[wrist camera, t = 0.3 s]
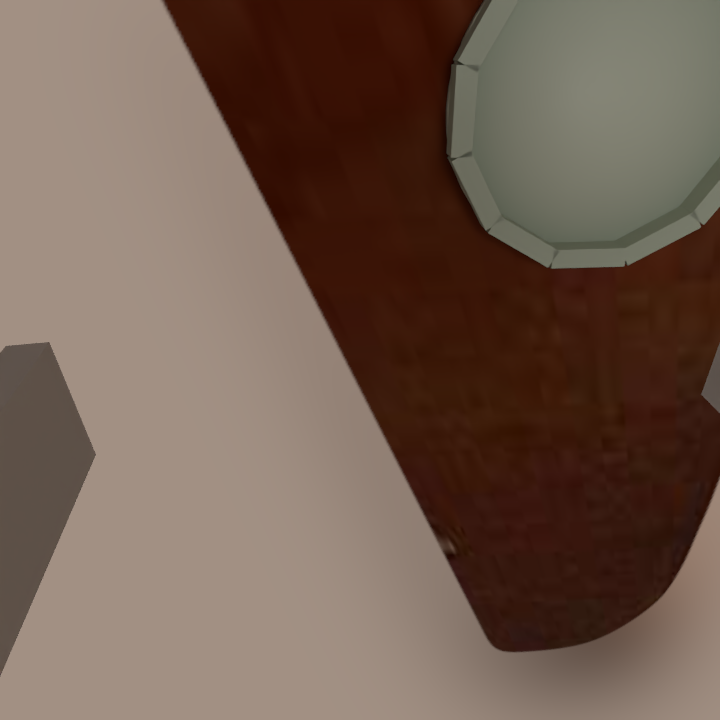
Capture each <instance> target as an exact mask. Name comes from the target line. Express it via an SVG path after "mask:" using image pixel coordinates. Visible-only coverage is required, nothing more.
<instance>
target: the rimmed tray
mask: <svg viewBox="0 0 720 720" xmlns="http://www.w3.org/2000/svg"><path fill="white" fill-rule="evenodd" d="M453 60H454V64H451V77H450V81H449V86H448V94H447V102H446V135H447V150H446V154H447V155H449V156H448V157H447V158H448V160H449V162H450V164H451V166H452V168H453V170H454V172H455V175H456V177H457V180H458V182H459V185H460V187H461V189H462V191H463V192H464V194H465V196H466V197H467V199H468V201H469V203H470V204H471V206H472V208H473V210H474V213H475V215H476V217H477V219H478V221H479V223H480V224H481V225H482V227H483V228H484V229H485V230H486V231H487V232H488V233H489V234H491V235H492V236H494V237H496V238H497V239H499V240H501V241H503V242H504V243H506V244H508V245H510V246H511V247H513V248H515V249H517V250H518V251H520V252H522V253H523V254H525V255H527V256H529V257H530V258H532V259H534V260H536V261H537V262H539V263H541V264H542V265H544V266H546V267H550V268H585V267H621V266H624V265H625V264H626V265H630V264H631V263H633V262H635V261H637V260H639V259H641V258H643V257H645V256H647V255H649V254H651V253H653V252H655V251H656V250H658V249H660V248H662V247H664V246H666V245H668V244H670V243H672V242H674V241H676V240H678V239H680V238H681V237H683V236H685V235H687V234H689V233H691V232H693V231H695V230H697V229H699V228H701V226H700V223H701V224H705V223H706V222H707V221H708V220H709V218H710V217H711V216H712V215H713V214H714V213H715V211H716V210H717V209H718V208H719V207H720V0H484V1H483V2H482V4H481V5H480V7H479V9H478V10H477V12H476V13H475V15H474V16H473V18H472V20H471V22H470V24H469V27H468V29H467V31H466V33H465V35H464V37H463V39H462V41H461V44H460V47H459V50H458V51H457V53H456V55H455V57H454V58H453Z"/></svg>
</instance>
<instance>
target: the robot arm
mask: <svg viewBox="0 0 720 720" xmlns="http://www.w3.org/2000/svg"><path fill="white" fill-rule="evenodd" d="M701 395H702V396H703V397H704V398H705V399H706V400H707V401H708V402H709V403H710V404H711V405H712V406H713V407H714V408H715V409H716V410H717V411H718V412H719V413H720V344H719V347H718V350H717V352H716V355H715V358H714V361H713V363H712V366H711V369H710V372H709V375H708V377H707V380H706V383H705V386H704V389H703V391H702V394H701ZM95 455H96V454H95V451H94V450H93V447H92V444H91V442H90V439H89V437H88V435H87V432H86V430H85V427H84V425H83V423H82V420H81V418H80V415H79V413H78V411H77V408H76V406H75V403H74V401H73V399H72V396H71V394H70V391H69V389H68V387H67V384H66V382H65V379H64V377H63V374H62V372H61V370H60V367H59V365H58V362H57V360H56V357H55V355H54V353H53V350H52V348H51V345H50V343H49V342H47V343H35V344H24V345H13V346H6V347H5V348H4V349H3V350H2V352H1V353H0V675H1V673H2V671H3V668H4V666H5V663H6V661H7V659H8V657H9V654H10V652H11V650H12V647H13V645H14V643H15V641H16V638H17V636H18V634H19V631H20V629H21V627H22V624H23V622H24V620H25V617H26V615H27V613H28V610H29V608H30V606H31V603H32V601H33V599H34V597H35V594H36V592H37V590H38V587H39V585H40V582H41V580H42V578H43V576H44V573H45V571H46V568H47V566H48V564H49V562H50V559H51V557H52V555H53V553H54V550H55V548H56V545H57V543H58V541H59V539H60V536H61V534H62V532H63V529H64V527H65V525H66V522H67V520H68V518H69V515H70V513H71V511H72V508H73V506H74V504H75V502H76V499H77V497H78V494H79V492H80V490H81V487H82V485H83V483H84V481H85V478H86V476H87V473H88V471H89V469H90V467H91V465H92V462H93V460H94V457H95Z"/></svg>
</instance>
